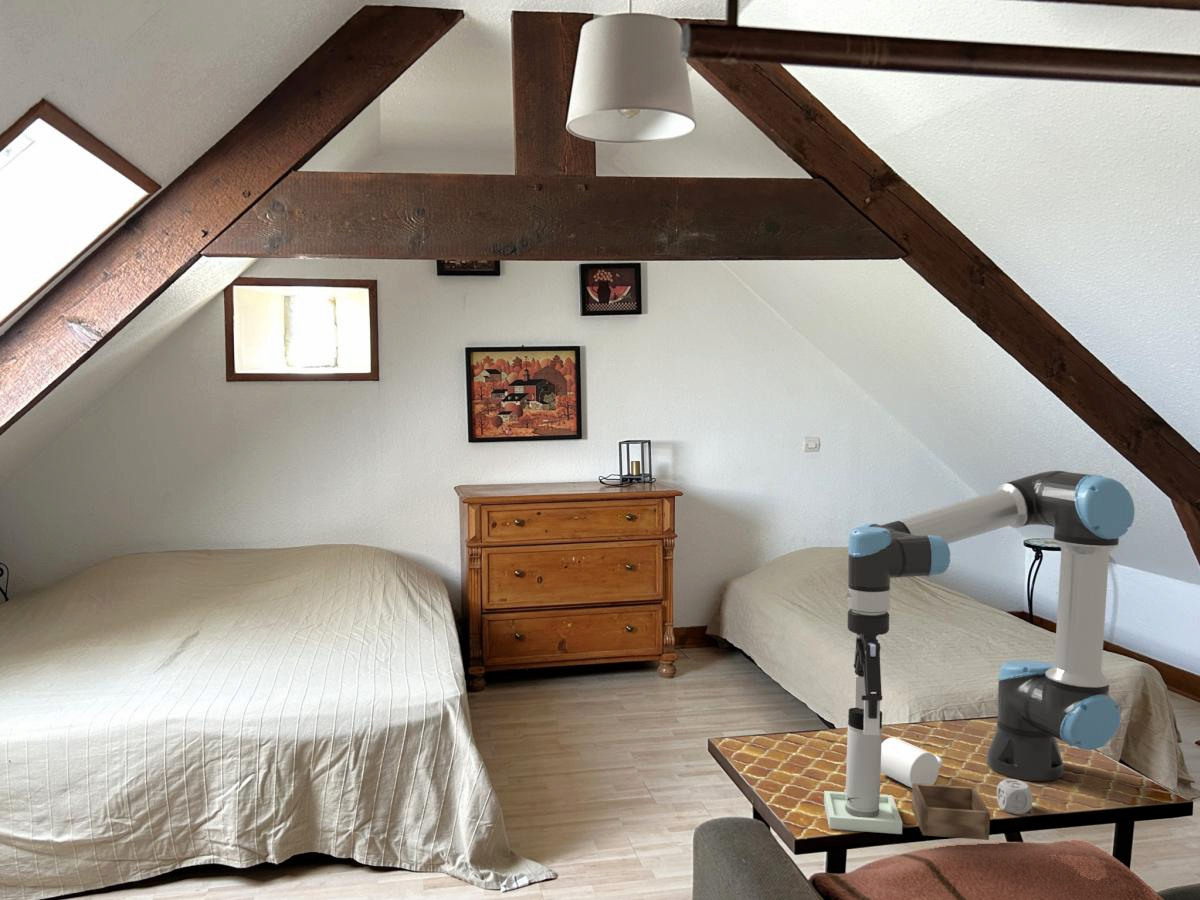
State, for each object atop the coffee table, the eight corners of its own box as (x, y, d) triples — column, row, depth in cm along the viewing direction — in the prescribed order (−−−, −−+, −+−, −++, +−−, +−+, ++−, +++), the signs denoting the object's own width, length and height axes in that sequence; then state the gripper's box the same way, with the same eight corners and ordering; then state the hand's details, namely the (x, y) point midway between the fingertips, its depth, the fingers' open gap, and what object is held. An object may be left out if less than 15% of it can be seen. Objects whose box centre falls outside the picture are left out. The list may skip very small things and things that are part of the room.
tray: (891, 806, 195) (892, 795, 194) (901, 834, 183) (902, 822, 183) (823, 801, 196) (824, 790, 196) (829, 828, 184) (829, 817, 184)
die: (1021, 803, 197) (1022, 779, 196) (1031, 814, 192) (1033, 789, 192) (995, 803, 197) (997, 778, 197) (1005, 814, 192) (1007, 789, 192)
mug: (909, 795, 200) (911, 756, 200) (874, 777, 209) (876, 740, 209) (953, 784, 206) (954, 746, 205) (917, 767, 215) (918, 731, 214)
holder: (973, 812, 192) (974, 787, 192) (988, 839, 181) (990, 813, 180) (911, 808, 194) (912, 783, 193) (922, 835, 182) (923, 808, 182)
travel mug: (846, 817, 187) (849, 712, 185) (843, 802, 193) (847, 701, 192) (881, 820, 185) (884, 715, 184) (877, 805, 192) (880, 703, 191)
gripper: (840, 595, 199) (839, 699, 201) (855, 626, 175) (853, 744, 176) (879, 596, 198) (877, 700, 200) (899, 627, 174) (897, 746, 175)
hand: (866, 721), depth 188 cm, fingers open, 13 cm apart
